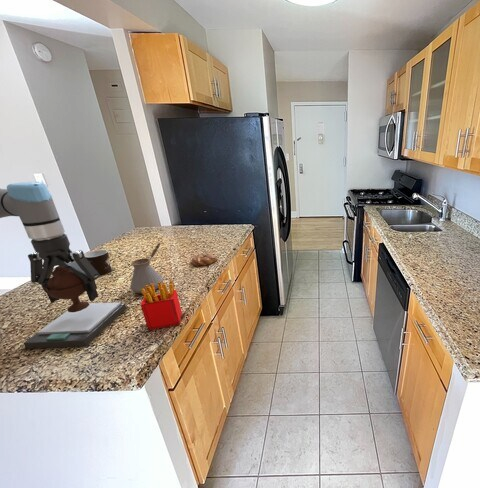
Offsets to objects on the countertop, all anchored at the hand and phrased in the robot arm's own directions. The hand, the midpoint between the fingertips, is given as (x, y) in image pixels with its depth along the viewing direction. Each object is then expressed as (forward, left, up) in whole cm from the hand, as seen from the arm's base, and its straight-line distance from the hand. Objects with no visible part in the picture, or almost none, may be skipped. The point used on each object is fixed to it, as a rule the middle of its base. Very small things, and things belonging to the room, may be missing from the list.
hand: (75, 299), depth 84 cm
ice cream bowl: (0, 0, -3) cm, 3 cm away
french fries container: (+27, -1, -10) cm, 29 cm away
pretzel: (+23, +47, -10) cm, 53 cm away
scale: (0, -1, -10) cm, 10 cm away
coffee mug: (-21, +37, -10) cm, 43 cm away
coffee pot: (+9, +27, -10) cm, 30 cm away
